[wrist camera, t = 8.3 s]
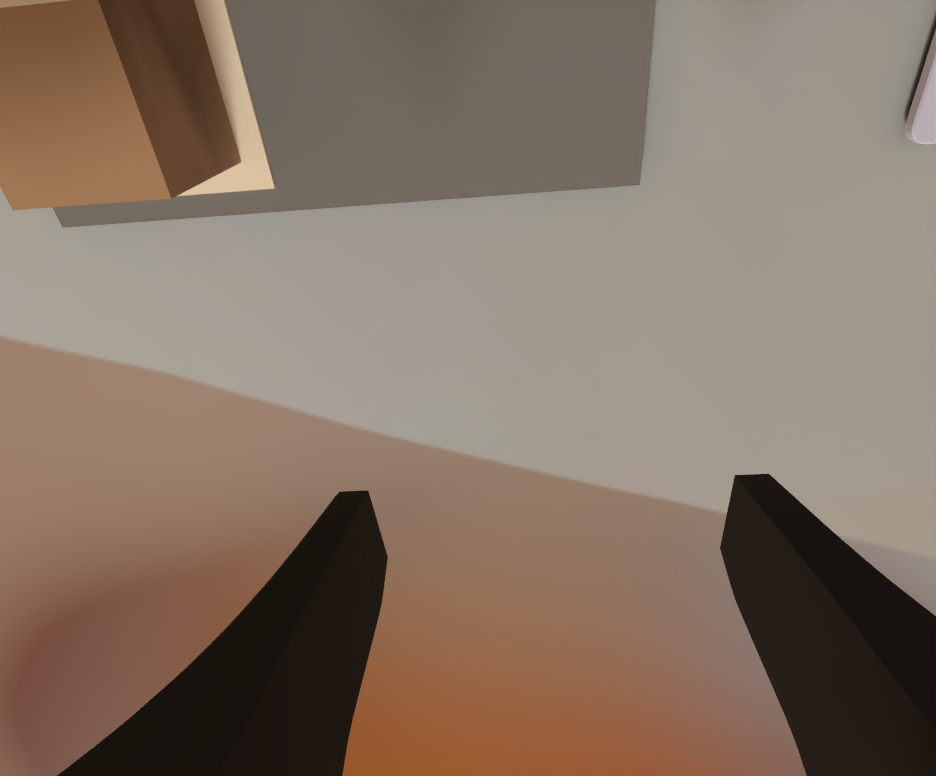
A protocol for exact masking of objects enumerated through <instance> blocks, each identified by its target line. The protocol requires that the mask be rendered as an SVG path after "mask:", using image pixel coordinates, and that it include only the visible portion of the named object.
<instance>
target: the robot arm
mask: <svg viewBox="0 0 936 776" xmlns="http://www.w3.org/2000/svg"><path fill="white" fill-rule="evenodd" d="M905 134H906V137H907V138H908V139H909V140H910V141H912V142H915V143H919V144H936V30H935V33H934V36H933V40H932V43H931V46H930V49H929V52H928V55H927V58H926V61H925V65H924V68H923V71H922V74H921V77H920V80H919V83H918V86H917V90H916V93H915V96H914V99H913V102H912V105H911V108H910V111H909V115H908V118H907V121H906V124H905ZM720 549H721V553H722V556H723V560H724V563H725V567H726V570H727V574H728V577H729V581H730V584H731V587H732V590H733V594H734V597H735V600H736V602H737V605H738V607H739V610H740V612H741V614H742V617H743V619H744V621H745V624H746V626H747V628H748V631H749V633H750V635H751V638H752V640H753V642H754V645H755V647H756V649H757V651H758V654H759V656H760V658H761V661H762V663H763V666H764V668H765V670H766V672H767V675H768V677H769V679H770V682H771V684H772V686H773V688H774V691H775V693H776V696H777V698H778V700H779V703H780V705H781V707H782V710H783V712H784V714H785V716H786V719H787V721H788V724H789V727H790V729H791V732H792V734H793V737H794V739H795V742H796V745H797V747H798V750H799V753H800V756H801V760H802V762H803V766H804V768H805V772H806V775H807V776H936V616H935V615H933V614H932V613H931V612H929V611H928V610H927V609H926V608H924V607H923V606H922V605H920V604H919V603H918V602H917V601H915V600H914V599H913V598H912V597H910V596H909V595H908V594H906V593H905V592H904V591H903V590H901V589H900V588H899V587H897V586H896V585H895V584H894V583H892V582H891V581H890V580H889V579H887V578H886V577H885V576H884V575H883V574H881V573H880V572H879V571H878V570H876V569H875V568H874V567H873V566H872V565H871V564H870V563H868V562H867V561H866V560H865V559H864V558H862V557H861V556H860V555H859V554H858V553H857V552H855V551H854V550H853V549H852V548H851V547H850V546H848V545H847V544H846V543H845V542H844V541H843V540H841V539H840V538H839V537H838V536H837V535H836V534H835V533H834V532H832V531H831V530H830V529H829V528H828V527H827V526H826V525H825V524H824V523H822V522H821V521H820V520H819V519H818V518H817V517H816V516H815V515H814V514H812V513H811V512H810V511H809V510H808V509H807V508H806V507H805V506H804V505H803V504H801V503H800V502H799V501H798V500H797V499H796V498H795V497H794V496H793V495H792V494H790V493H789V492H788V491H787V490H786V489H785V488H784V487H783V486H782V485H781V484H779V483H778V482H777V481H776V480H775V479H774V478H773V477H772V476H771V475H769V474H755V475H735V478H734V483H733V487H732V492H731V497H730V502H729V507H728V512H727V517H726V522H725V527H724V532H723V537H722V541H721V546H720ZM387 558H388V557H387V553H386V550H385V546H384V543H383V540H382V536H381V533H380V529H379V526H378V523H377V519H376V516H375V512H374V509H373V505H372V502H371V498H370V495H369V492H368V491H346V492H339V493H338V494H337V496H335V498H334V499H333V500H332V502H331V503H330V504H329V505H328V507H327V508H326V509H325V511H324V512H323V513H322V515H321V516H320V517H319V519H318V520H317V521H316V523H315V524H314V525H313V526H312V528H311V529H310V530H309V531H308V533H307V534H306V535H305V537H304V538H303V539H302V541H301V542H300V543H299V544H298V546H297V547H296V548H295V549H294V550H293V552H292V553H291V554H290V555H289V557H288V558H287V559H286V560H285V561H284V563H283V564H282V565H281V566H280V568H279V569H278V570H277V571H276V573H275V574H274V575H273V576H272V577H271V579H270V580H269V581H268V582H267V583H266V584H265V586H264V587H263V588H262V589H261V590H260V591H259V592H258V593H257V595H256V596H255V597H254V598H253V599H252V600H251V601H250V602H249V604H248V605H247V606H246V607H245V608H244V609H243V610H242V612H241V613H240V614H239V615H238V616H237V617H236V618H235V619H234V620H233V621H232V623H230V625H229V626H228V627H227V628H226V629H225V630H224V631H223V632H222V633H221V634H220V635H219V636H218V637H217V638H216V639H215V640H214V641H213V642H212V643H211V644H210V645H209V646H208V647H207V648H206V649H205V650H204V651H203V652H202V653H201V654H200V655H199V656H198V657H197V658H196V659H195V660H194V661H193V662H192V663H191V664H190V665H189V666H188V667H187V668H186V669H185V670H184V671H182V672H181V673H180V674H179V675H178V676H177V677H176V678H175V679H174V680H173V681H171V682H170V683H169V684H168V685H167V686H166V687H165V688H164V689H162V690H161V691H160V692H159V693H158V694H157V695H156V696H154V697H153V698H152V699H151V700H150V701H149V702H148V703H146V705H144V706H143V707H142V708H141V709H140V710H139V711H137V712H136V713H135V714H134V715H133V716H132V717H131V718H129V719H128V720H127V721H126V722H125V723H123V725H121V726H120V727H119V728H117V729H116V730H115V731H114V732H112V733H111V734H110V735H109V736H107V737H106V738H105V739H104V740H102V741H101V742H100V743H99V744H97V745H96V746H95V747H94V748H92V749H91V750H90V751H89V752H87V753H86V754H85V755H83V756H82V757H81V758H80V759H78V760H77V761H76V762H74V763H73V764H72V765H71V766H69V767H68V768H67V769H65V770H64V771H63V772H61V773H60V774H59V775H57V776H342V773H343V767H344V761H345V755H346V748H347V743H348V737H349V733H350V728H351V724H352V719H353V715H354V711H355V707H356V703H357V699H358V695H359V691H360V687H361V683H362V679H363V676H364V672H365V668H366V663H367V660H368V656H369V652H370V648H371V644H372V641H373V636H374V632H375V628H376V625H377V620H378V616H379V612H380V608H381V604H382V596H383V590H384V581H385V574H386V566H387Z"/></svg>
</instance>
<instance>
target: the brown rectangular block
mask: <svg viewBox="0 0 936 776" xmlns="http://www.w3.org/2000/svg"><path fill="white" fill-rule="evenodd" d="M239 163H241V159H240V156H239V153H238V149H237V146H236V142H235V139H234V135H233V132H232V128H231V125H230V122H229V118H228V115H227V111H226V108H225V104H224V101H223V98H222V94H221V91H220V87H219V84H218V80H217V77H216V73H215V70H214V67H213V63H212V60H211V56H210V53H209V49H208V46H207V43H206V39H205V36H204V32H203V29H202V25H201V22H200V19H199V15H198V12H197V8H196V5H195V1H194V0H0V187H1V189H2V191H3V193H4V195H5V197H6V198H7V200H8V202H9V204H10V206H11V208H12V210H21V209H35V208H49V207H63V206H77V205H91V204H105V203H119V202H133V201H147V200H160V199H172V198H174V197H176V196H178V195H180V194H182V193H183V192H185V191H187V190H189V189H191V188H193V187H195V186H197V185H199V184H201V183H203V182H205V181H206V180H208V179H210V178H212V177H214V176H216V175H218V174H220V173H222V172H224V171H226V170H228V169H229V168H231V167H233V166H235V165H237V164H239Z"/></svg>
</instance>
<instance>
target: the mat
mask: <svg viewBox="0 0 936 776" xmlns="http://www.w3.org/2000/svg"><path fill="white" fill-rule="evenodd" d="M194 1H195V5H196V8H197V12H198V15H199V19H200V22H201V25H202V29H203V32H204V36H205V39H206V43H207V46H208V49H209V53H210V56H211V60H212V63H213V67H214V70H215V73H216V77H217V80H218V84H219V87H220V91H221V94H222V98H223V101H224V104H225V108H226V111H227V115H228V118H229V122H230V125H231V128H232V132H233V135H234V139H235V142H236V146H237V149H238V153H239V156H240V159H241V163H239V164H237V165H235V166H233V167H231V168H229V169H228V170H226V171H224V172H222V173H220V174H218V175H216V176H214V177H212V178H210V179H208V180H206V181H205V182H203V183H201V184H199V185H197V186H195V187H193V188H191V189H189V190H187V191H185V192H183V193H182V194H180V195H178V196H176V197H174V198H172V199H160V200H147V201H133V202H119V203H105V204H91V205H77V206H63V207H53V209H54V211H55V213H56V215H57V217H58V219H59V221H60V223H61V225H62V227H75V226H89V225H103V224H116V223H130V222H143V221H157V220H170V219H184V218H198V217H211V216H225V215H238V214H252V213H265V212H279V211H293V210H306V209H320V208H333V207H347V206H360V205H374V204H388V203H401V202H415V201H428V200H442V199H455V198H469V197H483V196H496V195H510V194H523V193H537V192H550V191H564V190H578V189H591V188H605V187H618V186H632V185H640V178H641V166H642V154H643V141H644V129H645V117H646V105H647V93H648V81H649V69H650V56H651V44H652V32H653V20H654V8H655V0H194Z"/></svg>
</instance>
